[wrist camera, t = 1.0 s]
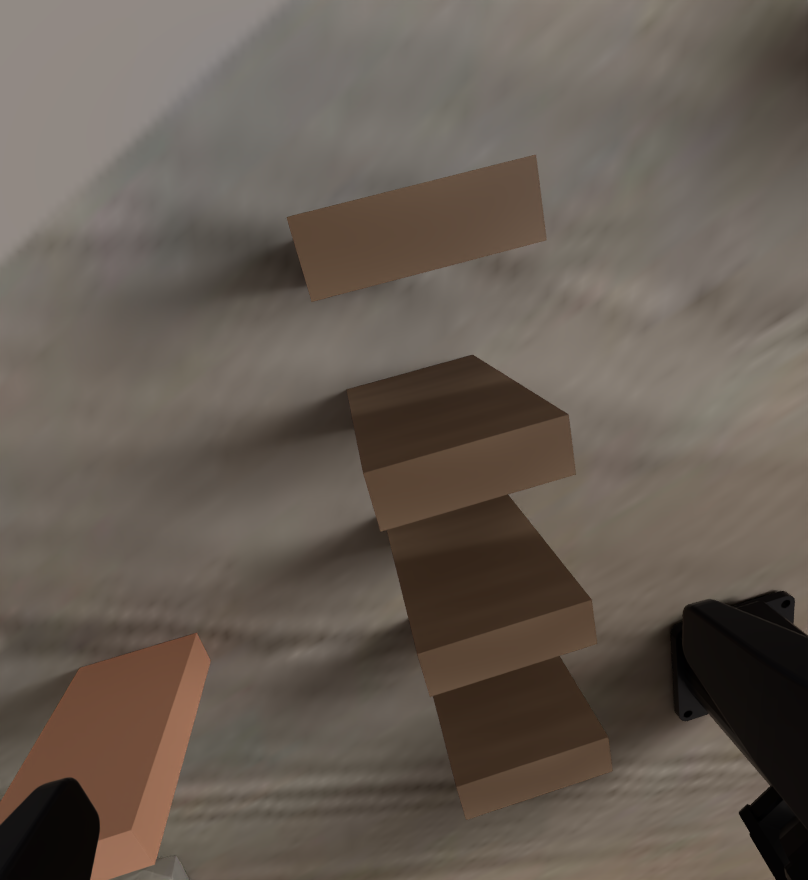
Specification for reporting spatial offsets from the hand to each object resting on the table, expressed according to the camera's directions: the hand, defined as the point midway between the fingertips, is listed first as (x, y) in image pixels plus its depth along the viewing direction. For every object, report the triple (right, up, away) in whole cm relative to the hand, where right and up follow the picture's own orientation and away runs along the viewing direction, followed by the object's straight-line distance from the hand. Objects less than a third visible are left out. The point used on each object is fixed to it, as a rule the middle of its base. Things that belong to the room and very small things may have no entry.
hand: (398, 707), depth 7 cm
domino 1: (-11, -6, +14) cm, 19 cm away
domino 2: (-1, +11, +10) cm, 15 cm away
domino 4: (+2, +1, +14) cm, 14 cm away
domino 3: (+1, +6, +12) cm, 13 cm away
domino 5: (+3, -4, +16) cm, 17 cm away
